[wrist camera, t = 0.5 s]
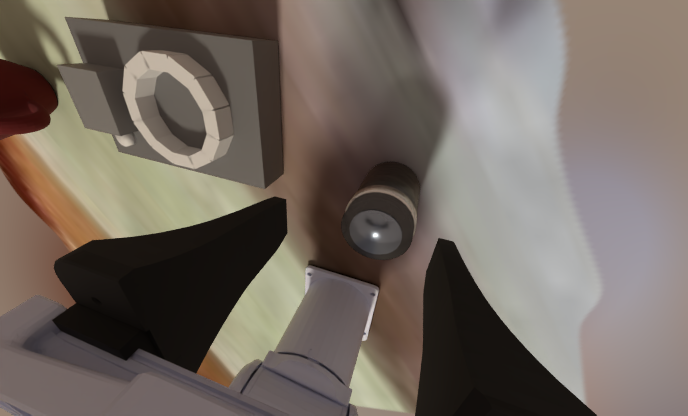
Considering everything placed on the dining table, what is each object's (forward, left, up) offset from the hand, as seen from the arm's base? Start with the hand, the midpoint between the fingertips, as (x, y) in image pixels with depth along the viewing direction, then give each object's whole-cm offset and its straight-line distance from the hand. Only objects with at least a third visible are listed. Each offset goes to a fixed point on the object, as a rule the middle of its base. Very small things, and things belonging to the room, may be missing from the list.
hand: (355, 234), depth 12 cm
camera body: (+2, +16, -9) cm, 19 cm away
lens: (-2, -1, -9) cm, 10 cm away
